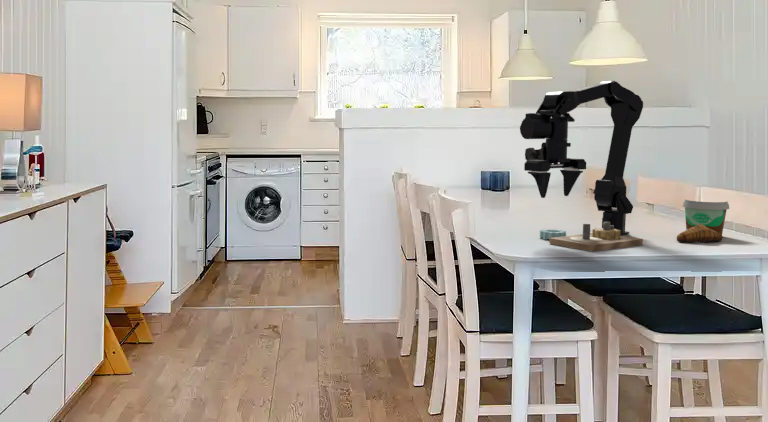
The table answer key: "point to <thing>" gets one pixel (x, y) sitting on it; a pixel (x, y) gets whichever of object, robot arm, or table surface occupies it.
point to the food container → (705, 214)
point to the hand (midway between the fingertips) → (554, 196)
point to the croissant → (699, 235)
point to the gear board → (597, 239)
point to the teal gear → (551, 233)
